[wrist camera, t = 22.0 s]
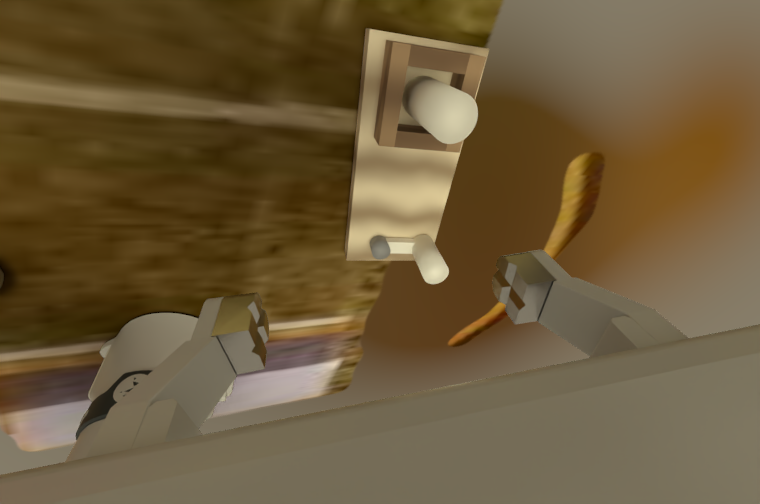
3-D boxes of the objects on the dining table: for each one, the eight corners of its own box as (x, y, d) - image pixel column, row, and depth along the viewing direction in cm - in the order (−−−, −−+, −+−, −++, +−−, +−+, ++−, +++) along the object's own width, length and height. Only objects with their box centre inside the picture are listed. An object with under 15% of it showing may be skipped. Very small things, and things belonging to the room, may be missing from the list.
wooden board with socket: (424, 250, 48) (436, 273, 44) (344, 250, 45) (348, 274, 41) (479, 47, 34) (504, 52, 29) (365, 28, 31) (375, 30, 26)
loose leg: (426, 124, 35) (458, 151, 28) (394, 106, 33) (421, 130, 26) (446, 87, 33) (487, 107, 26) (415, 67, 31) (449, 81, 24)
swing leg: (368, 252, 43) (376, 284, 38) (371, 232, 41) (380, 263, 36) (429, 254, 45) (444, 284, 40) (434, 234, 44) (452, 263, 38)
